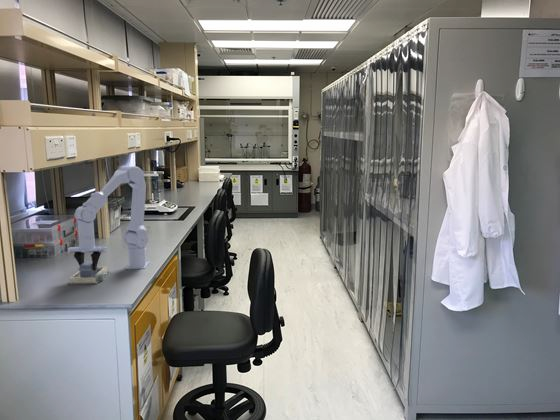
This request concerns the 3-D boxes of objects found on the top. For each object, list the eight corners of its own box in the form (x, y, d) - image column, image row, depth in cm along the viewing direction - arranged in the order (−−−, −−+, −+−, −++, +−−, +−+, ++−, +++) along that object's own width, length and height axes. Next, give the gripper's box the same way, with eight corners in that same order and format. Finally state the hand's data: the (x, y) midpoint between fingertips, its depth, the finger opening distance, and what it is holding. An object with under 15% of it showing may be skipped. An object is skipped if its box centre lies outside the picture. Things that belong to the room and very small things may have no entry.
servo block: (88, 272, 181) (87, 259, 180) (98, 272, 181) (97, 259, 180) (79, 280, 171) (78, 266, 170) (89, 280, 171) (88, 266, 170)
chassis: (82, 272, 183) (81, 266, 183) (111, 272, 184) (110, 266, 184) (67, 284, 169) (67, 278, 168) (99, 284, 170) (98, 277, 169)
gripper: (63, 239, 169) (66, 273, 171) (102, 238, 170) (104, 272, 172) (70, 235, 176) (73, 268, 178) (107, 234, 177) (109, 267, 179)
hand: (88, 270), depth 176 cm, fingers closed on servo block, 4 cm apart
